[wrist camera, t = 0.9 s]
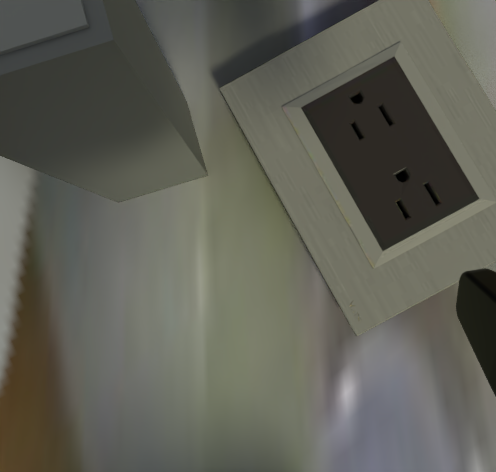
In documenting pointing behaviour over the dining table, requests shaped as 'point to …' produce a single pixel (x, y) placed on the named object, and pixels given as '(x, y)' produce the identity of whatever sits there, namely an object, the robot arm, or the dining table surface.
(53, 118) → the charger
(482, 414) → the dining table surface
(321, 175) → the electrical outlet
